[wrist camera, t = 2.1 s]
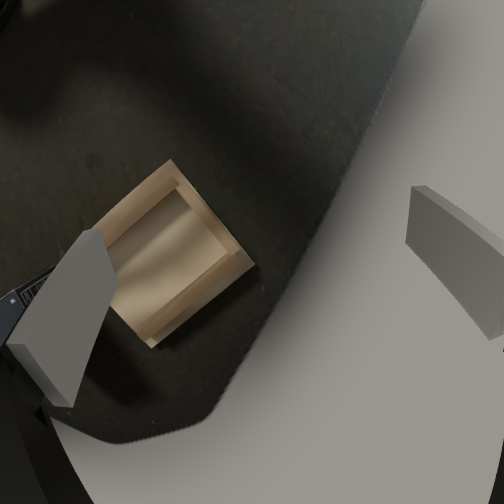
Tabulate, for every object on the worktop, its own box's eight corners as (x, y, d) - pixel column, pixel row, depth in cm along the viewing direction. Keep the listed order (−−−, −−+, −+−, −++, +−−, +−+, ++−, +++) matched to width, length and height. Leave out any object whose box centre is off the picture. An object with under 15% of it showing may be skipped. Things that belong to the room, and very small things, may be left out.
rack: (70, 251, 33) (58, 257, 29) (171, 160, 33) (168, 155, 30) (152, 344, 36) (149, 358, 33) (253, 261, 37) (260, 268, 33)
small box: (20, 285, 32) (-23, 312, 22) (54, 262, 32) (13, 286, 22) (62, 354, 34) (33, 398, 24) (97, 336, 35) (73, 380, 25)
